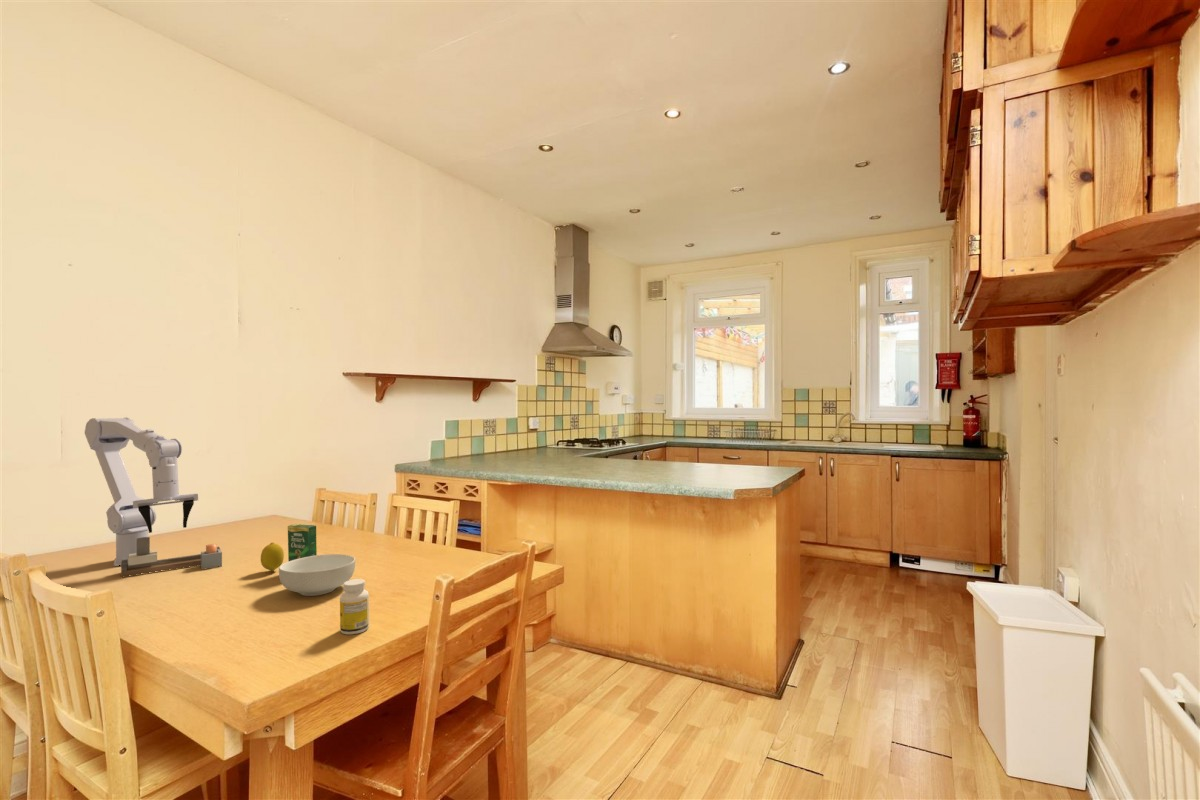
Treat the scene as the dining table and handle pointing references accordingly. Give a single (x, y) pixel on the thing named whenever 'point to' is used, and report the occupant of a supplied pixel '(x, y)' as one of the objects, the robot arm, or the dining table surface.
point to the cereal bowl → (317, 573)
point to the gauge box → (211, 559)
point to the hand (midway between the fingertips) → (167, 529)
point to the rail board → (160, 565)
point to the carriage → (143, 553)
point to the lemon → (272, 556)
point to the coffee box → (301, 541)
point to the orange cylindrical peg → (211, 548)
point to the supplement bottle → (354, 607)
